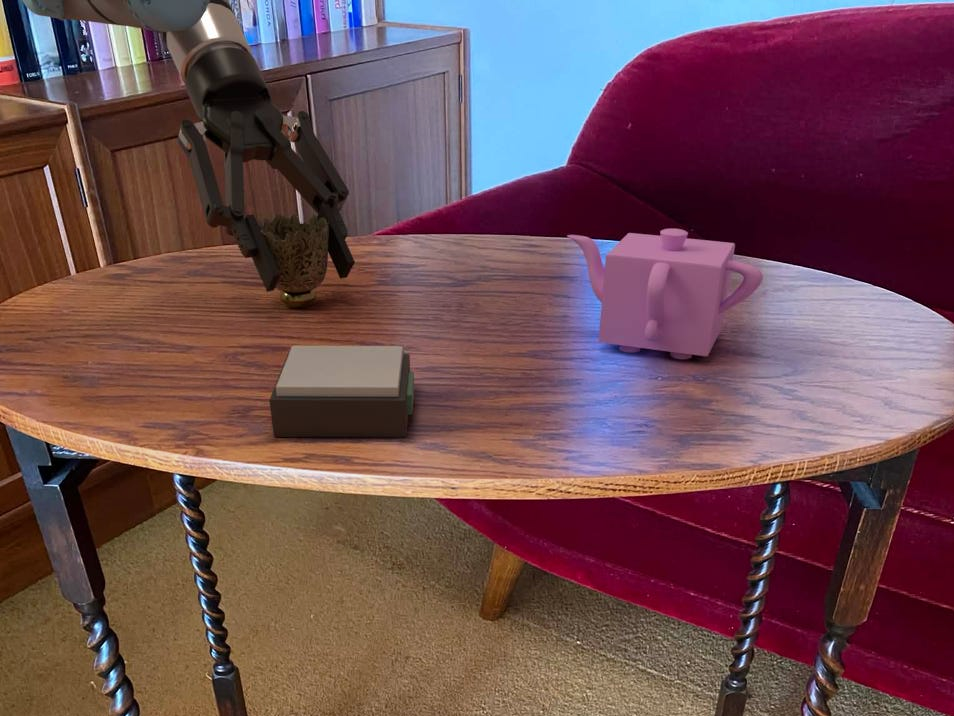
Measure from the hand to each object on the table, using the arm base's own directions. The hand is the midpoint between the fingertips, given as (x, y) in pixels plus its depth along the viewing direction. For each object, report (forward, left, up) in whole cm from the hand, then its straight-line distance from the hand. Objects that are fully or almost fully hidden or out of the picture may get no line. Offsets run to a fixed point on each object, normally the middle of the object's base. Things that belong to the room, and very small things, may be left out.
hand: (311, 276), depth 95 cm
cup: (-3, +1, -4) cm, 5 cm away
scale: (+21, -15, -4) cm, 26 cm away
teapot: (+30, +17, -4) cm, 34 cm away
